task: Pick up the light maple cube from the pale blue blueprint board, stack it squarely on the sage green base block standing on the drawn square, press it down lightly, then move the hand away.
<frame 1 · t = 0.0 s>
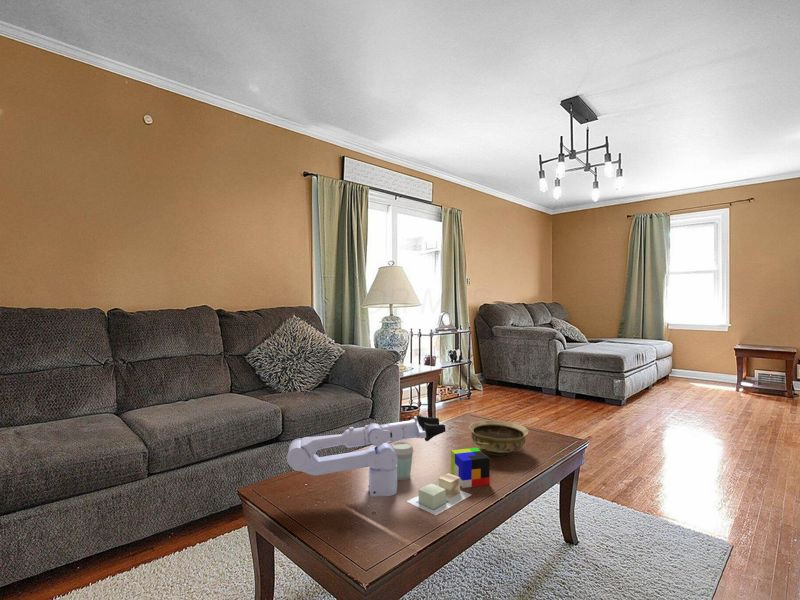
hand: (441, 424, 144), 22 cm above the table, tool horizontal, fingers open, 7 cm apart
maple block: (449, 492, 140), point 1 cm above the table, touching blueprint board
coffee cup: (401, 479, 152), on the table
ceramic bowl: (498, 452, 178), on the table
blueprint board: (439, 500, 136), on the table
sage base block: (432, 502, 134), point 1 cm above the table, touching blueprint board
puzzle toy: (469, 482, 150), on the table
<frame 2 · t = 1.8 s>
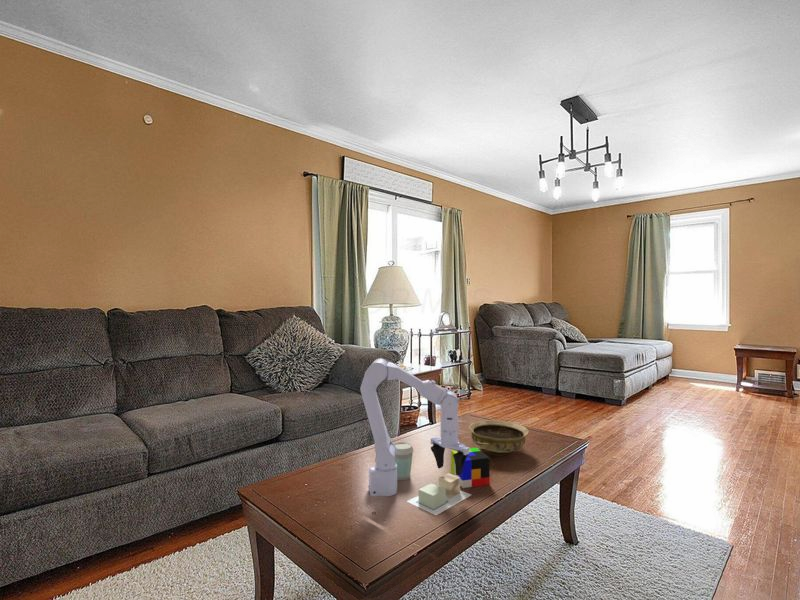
hand: (449, 470, 140), 8 cm above the table, tool pointing down, fingers open, 7 cm apart
nothing on the table moved.
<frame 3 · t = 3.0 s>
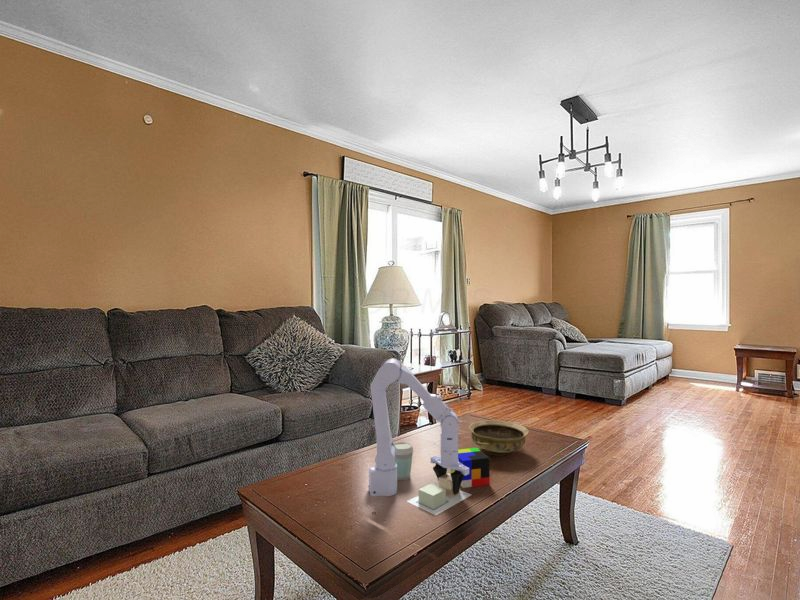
hand: (449, 490, 140), 2 cm above the table, tool pointing down, fingers closed on maple block, 5 cm apart
maple block: (449, 492, 140), point 1 cm above the table, touching blueprint board, gripper
everything else where it was.
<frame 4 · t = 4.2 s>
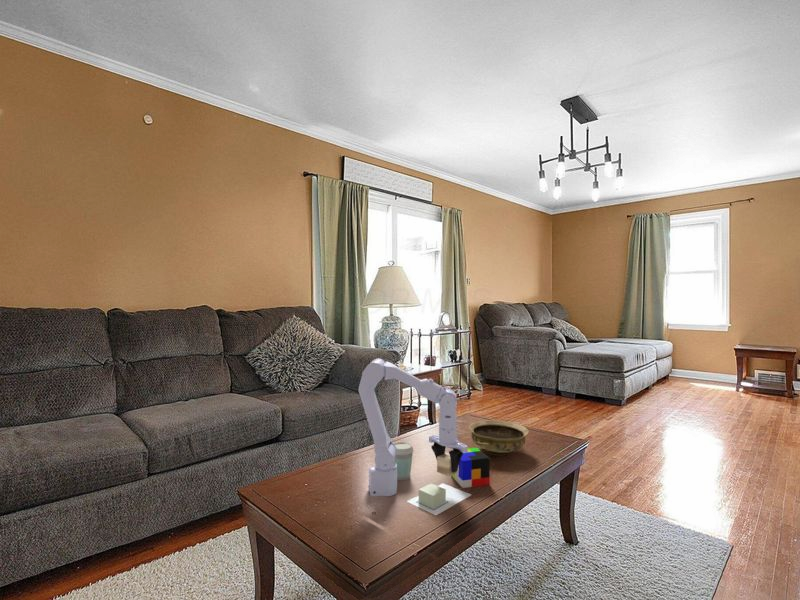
hand: (447, 469, 139), 9 cm above the table, tool pointing down, fingers closed on maple block, 5 cm apart
maple block: (447, 471, 139), point 8 cm above the table, touching gripper
everything else where it was.
when the fingers open (7 cm above the table, at t = 5.6 s): maple block stays where it is, resting on sage base block.
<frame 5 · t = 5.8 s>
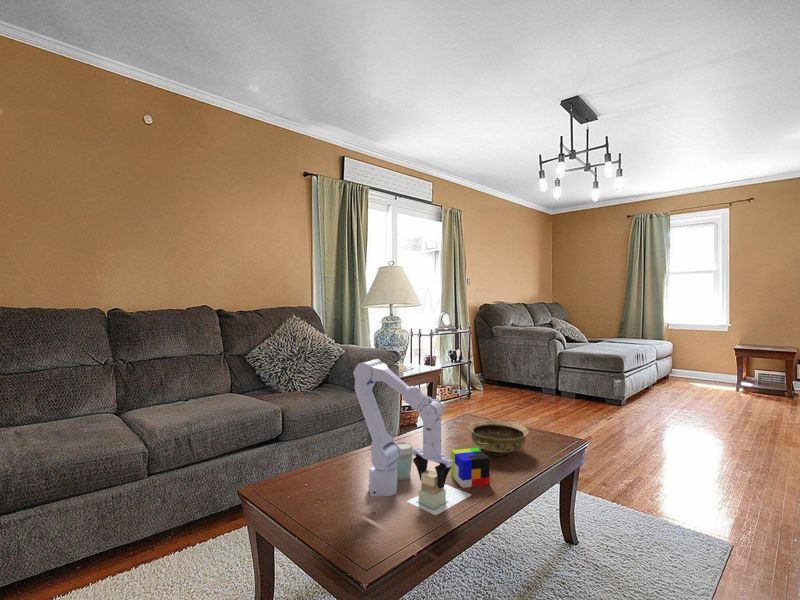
hand: (432, 483, 134), 7 cm above the table, tool pointing down, fingers open, 7 cm apart
maple block: (432, 489, 134), point 5 cm above the table, touching sage base block
sage base block: (432, 502, 134), point 1 cm above the table, touching blueprint board, maple block
everything else where it was.
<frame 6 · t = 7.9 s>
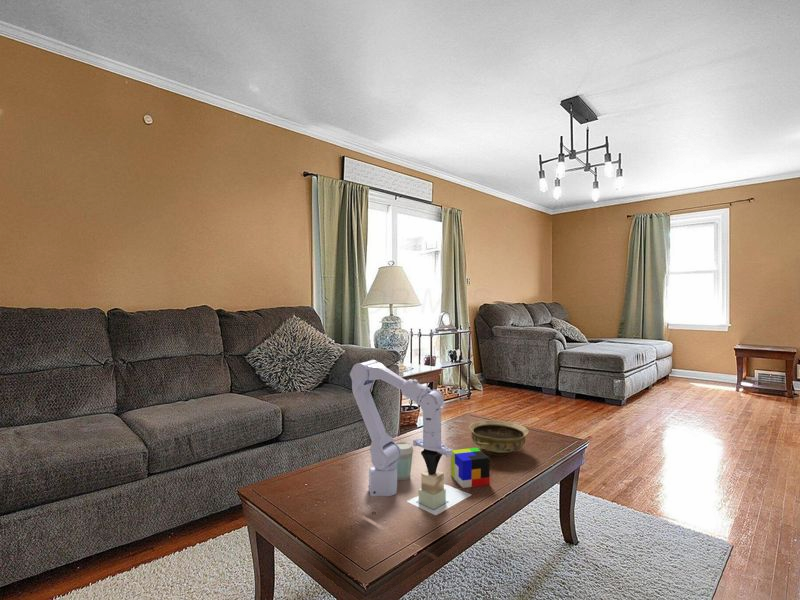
hand: (432, 473, 134), 10 cm above the table, tool pointing down, fingers closed, pressing on maple block
maple block: (432, 489, 134), point 5 cm above the table, touching gripper, sage base block
everything else where it was.
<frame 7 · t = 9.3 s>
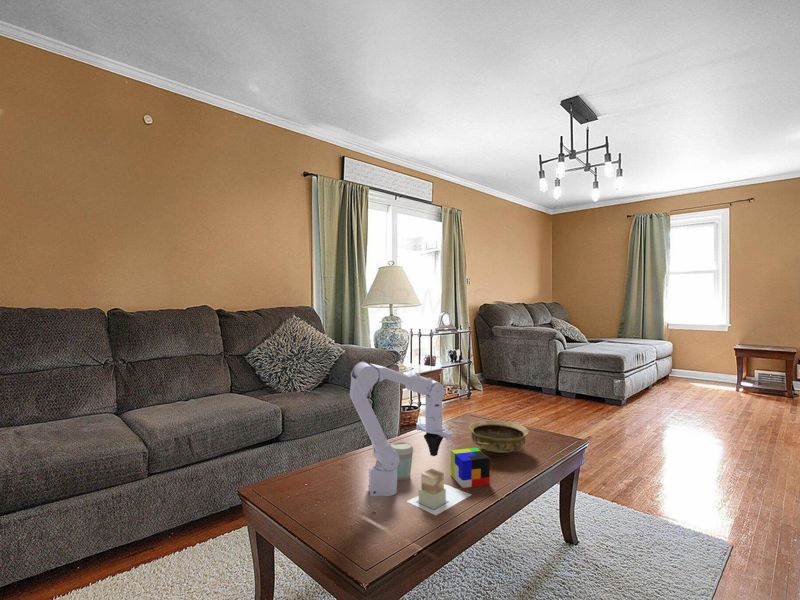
hand: (433, 455, 147), 10 cm above the table, tool pointing down, fingers closed
maple block: (432, 489, 134), point 5 cm above the table, touching sage base block
everything else where it was.
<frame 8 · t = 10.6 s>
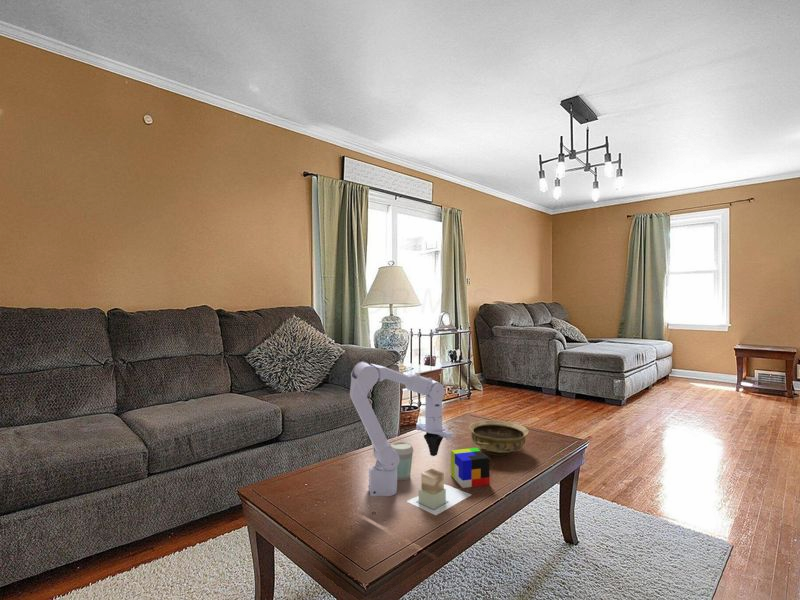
hand: (433, 455, 147), 10 cm above the table, tool pointing down, fingers closed
nothing on the table moved.
at the end: maple block 0.3 cm off-centre on the sage base block, point 4.0 cm above the sage base block's base; maple block tilted 0°; sage base block moved 0.0 cm from its start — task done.
